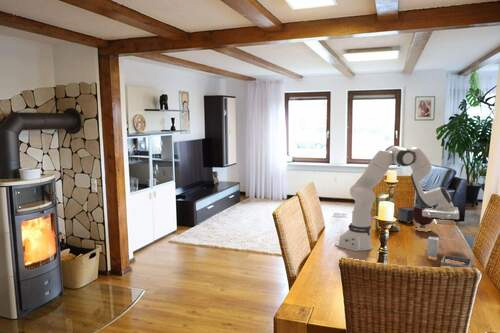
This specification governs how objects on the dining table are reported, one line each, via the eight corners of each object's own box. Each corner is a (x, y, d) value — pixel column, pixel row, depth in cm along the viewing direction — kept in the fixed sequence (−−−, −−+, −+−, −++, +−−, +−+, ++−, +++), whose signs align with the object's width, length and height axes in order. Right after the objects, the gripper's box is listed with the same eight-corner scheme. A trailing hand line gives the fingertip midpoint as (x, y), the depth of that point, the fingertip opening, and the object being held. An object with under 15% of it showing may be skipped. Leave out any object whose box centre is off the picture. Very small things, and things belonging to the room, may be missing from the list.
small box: (413, 222, 303) (414, 209, 302) (407, 223, 301) (407, 210, 299) (403, 219, 313) (404, 206, 312) (397, 220, 310) (397, 207, 309)
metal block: (426, 258, 224) (427, 238, 223) (428, 256, 228) (429, 236, 227) (436, 260, 222) (437, 239, 220) (437, 258, 226) (438, 237, 224)
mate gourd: (422, 226, 293) (423, 199, 291) (437, 231, 280) (439, 203, 278) (406, 228, 287) (407, 201, 285) (421, 233, 274) (422, 205, 272)
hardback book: (385, 230, 282) (386, 197, 279) (375, 229, 286) (376, 196, 283) (392, 225, 297) (393, 193, 294) (382, 223, 301) (383, 192, 298)
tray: (440, 268, 210) (440, 261, 210) (443, 260, 222) (444, 254, 221) (470, 273, 203) (470, 267, 202) (472, 265, 214) (472, 259, 214)
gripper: (424, 205, 248) (419, 210, 237) (460, 207, 236) (457, 213, 225) (424, 214, 249) (419, 220, 238) (460, 217, 237) (457, 224, 226)
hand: (438, 216), depth 231 cm, fingers open, 8 cm apart
